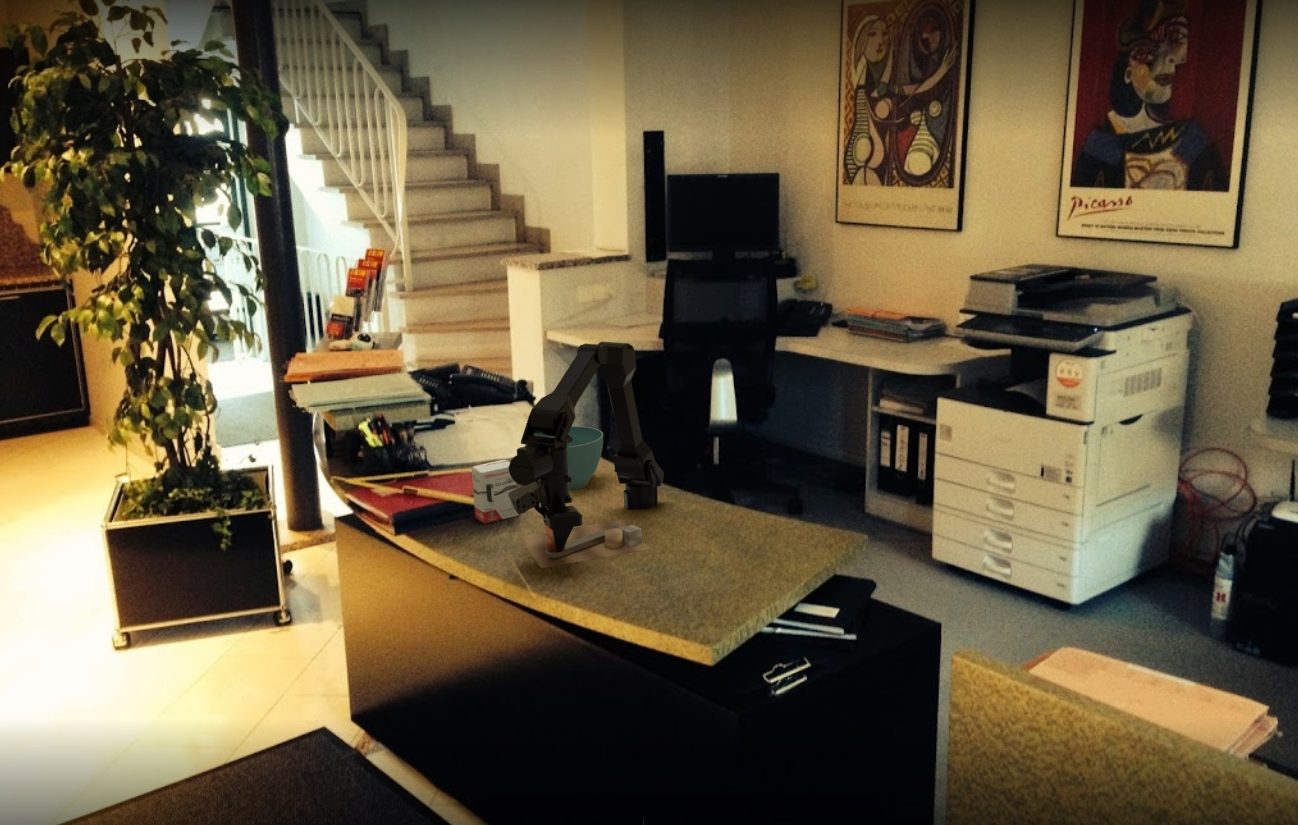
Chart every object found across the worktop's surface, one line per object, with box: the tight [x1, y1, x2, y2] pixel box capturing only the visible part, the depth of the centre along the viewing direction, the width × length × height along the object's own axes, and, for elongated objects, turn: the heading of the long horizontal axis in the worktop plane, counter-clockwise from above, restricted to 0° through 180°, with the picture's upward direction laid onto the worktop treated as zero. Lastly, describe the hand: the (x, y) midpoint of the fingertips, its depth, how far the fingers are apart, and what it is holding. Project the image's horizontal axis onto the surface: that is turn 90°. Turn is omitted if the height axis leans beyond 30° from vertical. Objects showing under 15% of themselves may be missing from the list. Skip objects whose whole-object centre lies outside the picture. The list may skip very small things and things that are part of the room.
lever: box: [544, 519, 606, 559], centre depth 218 cm, size 15×4×8 cm, turn 132°
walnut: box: [605, 528, 623, 549], centre depth 219 cm, size 4×4×3 cm
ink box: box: [471, 459, 520, 524], centre depth 241 cm, size 8×5×12 cm, turn 123°
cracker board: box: [519, 519, 651, 569], centre depth 222 cm, size 22×18×4 cm
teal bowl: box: [524, 425, 604, 492], centre depth 259 cm, size 18×18×12 cm
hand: (555, 546), depth 214 cm, fingers open, 5 cm apart
